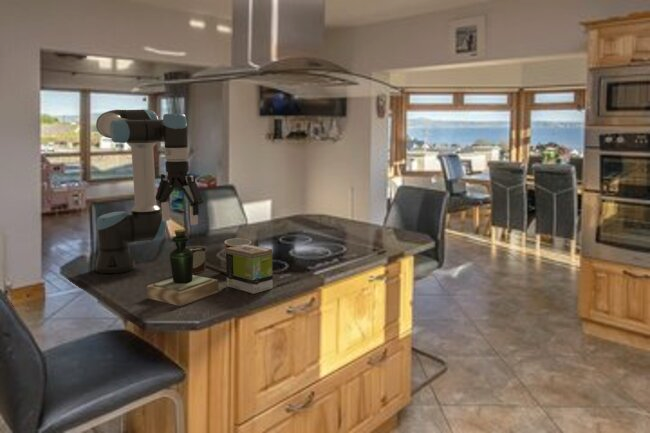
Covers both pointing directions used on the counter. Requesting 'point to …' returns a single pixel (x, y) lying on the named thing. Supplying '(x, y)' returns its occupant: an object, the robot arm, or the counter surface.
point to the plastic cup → (236, 242)
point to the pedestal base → (182, 290)
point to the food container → (198, 258)
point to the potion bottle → (181, 259)
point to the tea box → (249, 268)
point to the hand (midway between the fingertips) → (179, 222)
